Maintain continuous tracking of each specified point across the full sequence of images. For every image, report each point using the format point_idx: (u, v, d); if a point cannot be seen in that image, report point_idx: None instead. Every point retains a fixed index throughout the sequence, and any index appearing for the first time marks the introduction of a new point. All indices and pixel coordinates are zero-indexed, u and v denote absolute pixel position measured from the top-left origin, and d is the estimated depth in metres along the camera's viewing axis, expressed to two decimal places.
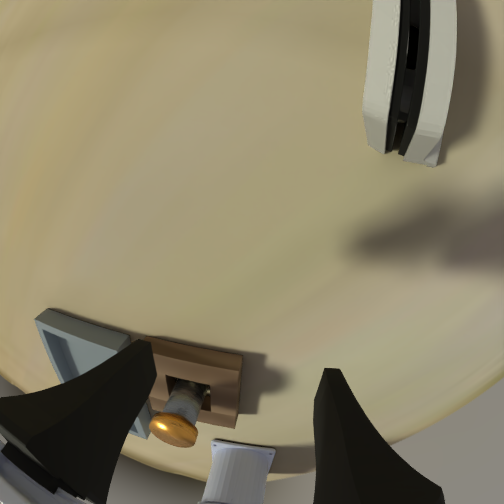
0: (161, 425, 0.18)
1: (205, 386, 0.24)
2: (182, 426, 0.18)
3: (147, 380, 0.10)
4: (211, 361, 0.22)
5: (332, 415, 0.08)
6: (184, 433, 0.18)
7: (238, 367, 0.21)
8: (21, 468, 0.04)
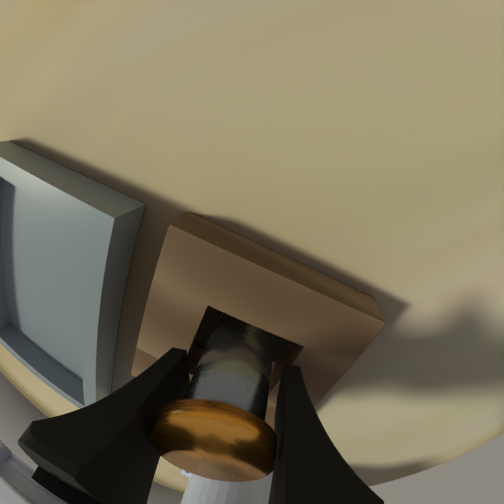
0: (198, 437, 0.06)
1: None
2: (265, 444, 0.06)
3: (182, 389, 0.10)
4: (334, 293, 0.10)
5: (283, 412, 0.08)
6: (258, 460, 0.06)
7: (381, 316, 0.10)
8: (58, 495, 0.04)
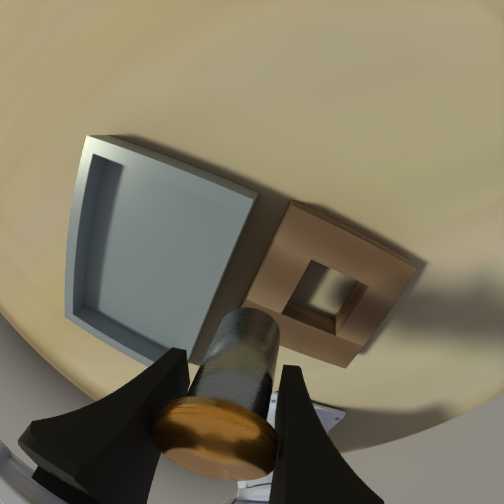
0: (198, 434, 0.06)
1: (278, 349, 0.12)
2: (265, 443, 0.06)
3: (182, 389, 0.10)
4: (386, 250, 0.16)
5: (283, 412, 0.08)
6: (258, 459, 0.06)
7: (413, 265, 0.16)
8: (58, 495, 0.04)
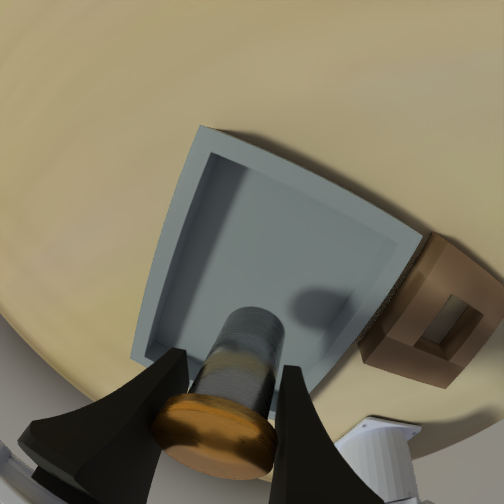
0: (197, 431, 0.06)
1: (282, 349, 0.12)
2: (264, 442, 0.06)
3: (182, 389, 0.10)
4: None
5: (284, 412, 0.08)
6: (256, 458, 0.06)
7: None
8: (58, 495, 0.04)
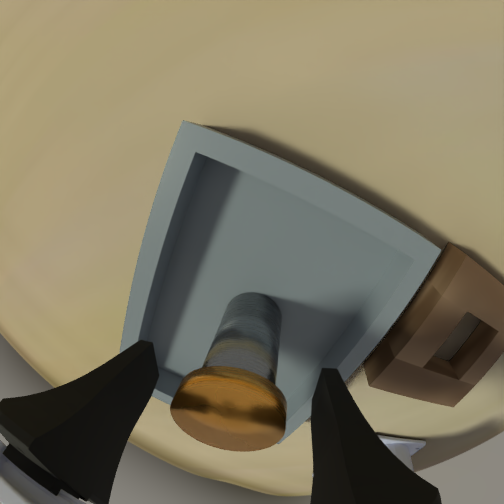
0: (217, 400, 0.08)
1: (280, 330, 0.14)
2: (277, 406, 0.08)
3: (149, 381, 0.10)
4: None
5: (329, 415, 0.08)
6: (271, 423, 0.08)
7: None
8: (23, 470, 0.04)
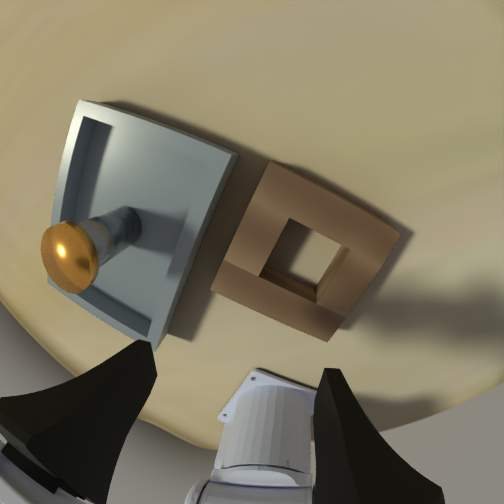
0: (56, 236, 0.12)
1: (134, 230, 0.18)
2: (81, 241, 0.12)
3: (147, 380, 0.10)
4: (368, 213, 0.16)
5: (332, 415, 0.08)
6: (79, 256, 0.12)
7: (397, 231, 0.16)
8: (21, 468, 0.04)
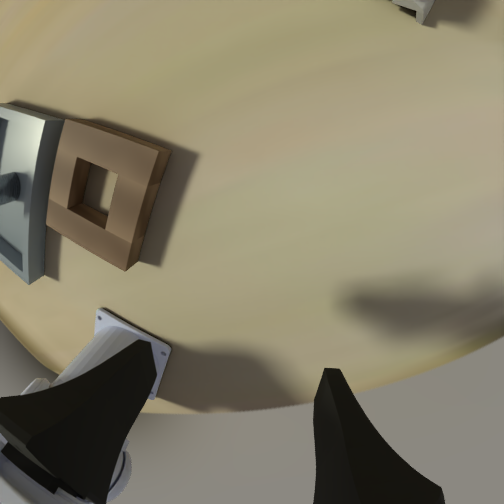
0: None
1: (13, 186, 0.19)
2: None
3: (147, 380, 0.10)
4: (133, 140, 0.16)
5: (332, 415, 0.08)
6: None
7: (160, 150, 0.16)
8: (21, 468, 0.04)
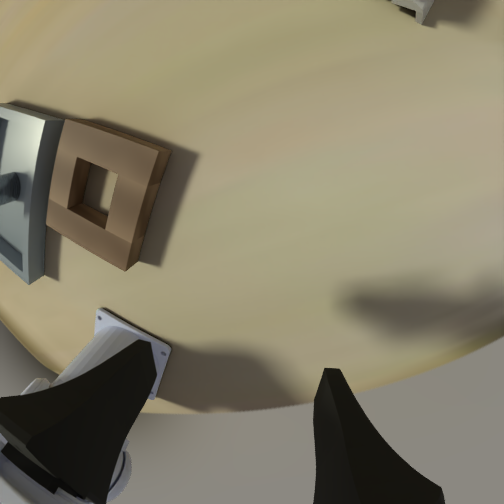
0: None
1: (13, 186, 0.19)
2: None
3: (147, 380, 0.10)
4: (133, 140, 0.16)
5: (332, 415, 0.08)
6: None
7: (160, 150, 0.16)
8: (21, 468, 0.04)
